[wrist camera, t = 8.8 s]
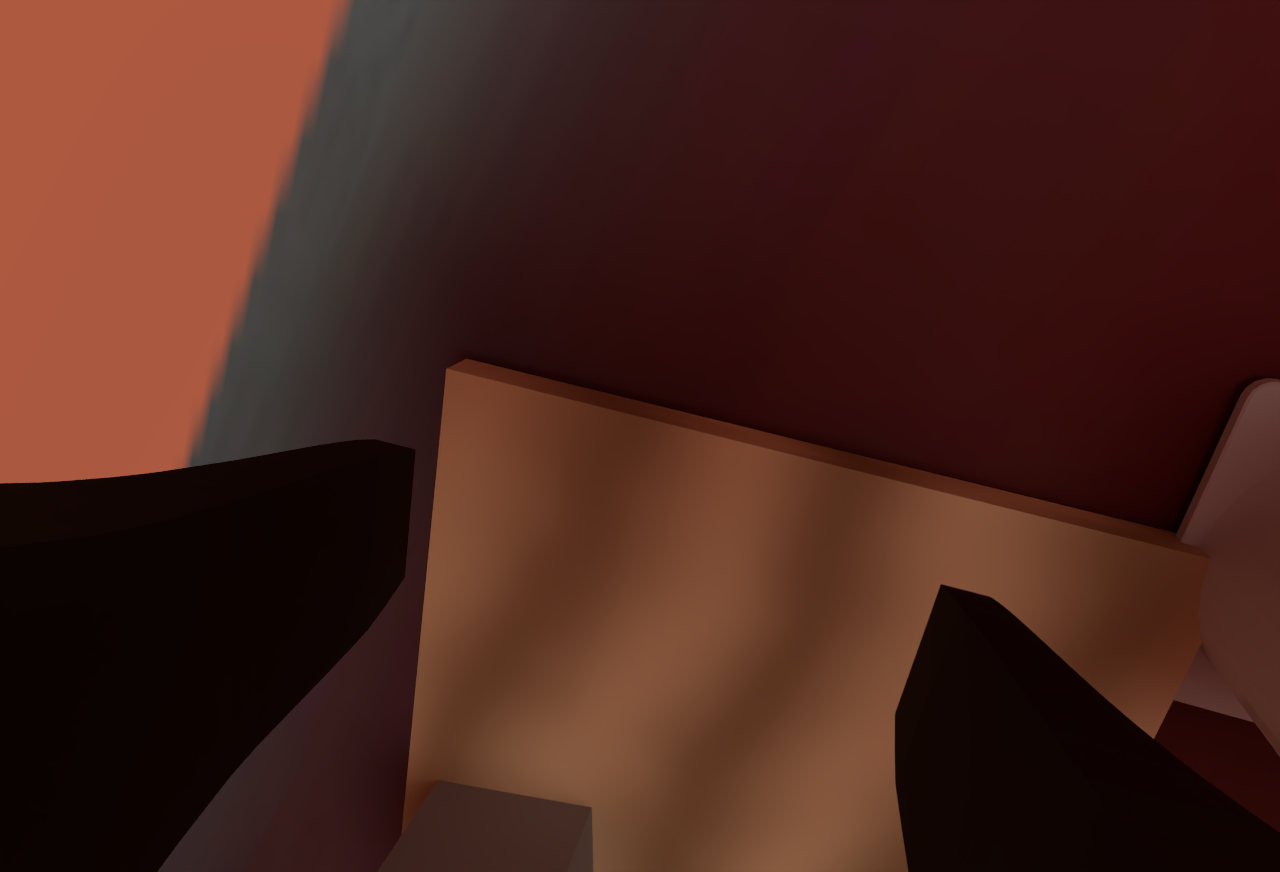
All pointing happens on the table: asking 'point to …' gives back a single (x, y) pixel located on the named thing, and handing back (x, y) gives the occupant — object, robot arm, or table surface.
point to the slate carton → (493, 834)
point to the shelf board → (733, 621)
